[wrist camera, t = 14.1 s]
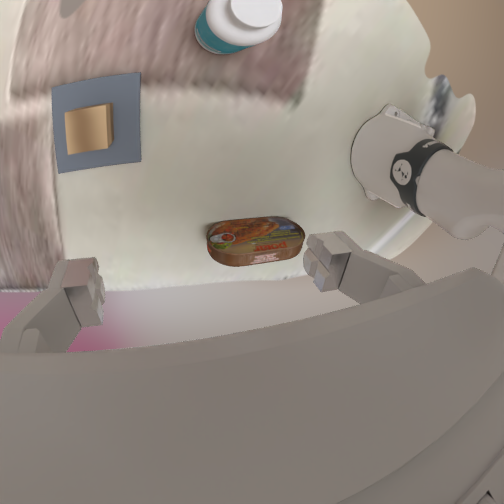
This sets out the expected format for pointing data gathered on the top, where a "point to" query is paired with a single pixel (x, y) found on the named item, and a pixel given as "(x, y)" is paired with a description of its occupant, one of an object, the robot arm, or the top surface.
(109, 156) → the mat
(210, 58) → the top surface
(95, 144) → the cube
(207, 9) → the pill bottle
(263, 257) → the tin
